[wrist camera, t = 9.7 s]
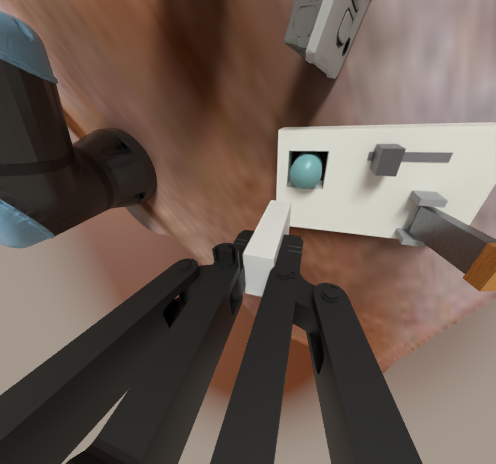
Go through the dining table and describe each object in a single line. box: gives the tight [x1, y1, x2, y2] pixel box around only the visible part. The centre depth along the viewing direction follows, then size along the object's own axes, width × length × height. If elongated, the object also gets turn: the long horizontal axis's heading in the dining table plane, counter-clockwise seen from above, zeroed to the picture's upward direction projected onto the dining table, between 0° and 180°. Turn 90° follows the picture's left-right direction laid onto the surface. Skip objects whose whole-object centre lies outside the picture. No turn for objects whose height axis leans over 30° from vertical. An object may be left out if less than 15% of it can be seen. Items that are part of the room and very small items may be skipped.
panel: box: [276, 122, 496, 247], centre depth 26 cm, size 24×14×7 cm, turn 93°
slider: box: [370, 144, 406, 177], centre depth 22 cm, size 2×3×3 cm
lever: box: [406, 205, 496, 291], centre depth 21 cm, size 2×4×10 cm, turn 3°
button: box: [290, 151, 322, 189], centre depth 27 cm, size 4×4×5 cm
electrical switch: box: [284, 0, 370, 79], centre depth 18 cm, size 9×5×9 cm, turn 164°
